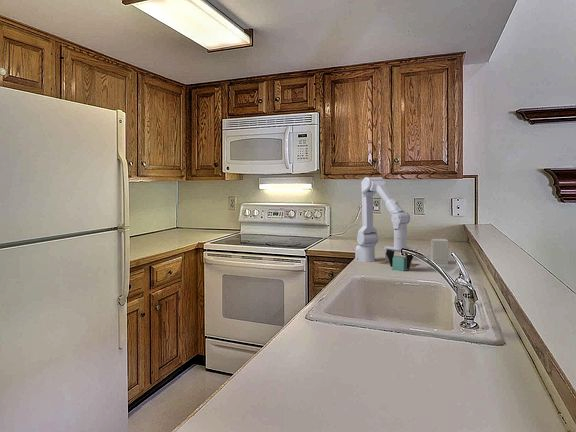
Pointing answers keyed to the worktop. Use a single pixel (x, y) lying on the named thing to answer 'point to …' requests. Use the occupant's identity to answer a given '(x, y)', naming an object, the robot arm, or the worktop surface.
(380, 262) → the walnut board
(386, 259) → the post
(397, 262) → the aqua toy cube
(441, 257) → the supplement box
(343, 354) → the worktop surface
